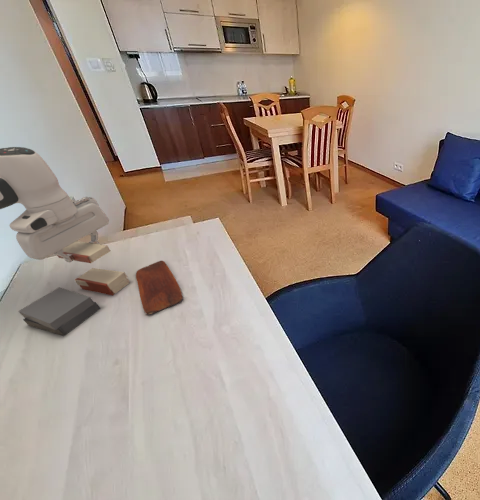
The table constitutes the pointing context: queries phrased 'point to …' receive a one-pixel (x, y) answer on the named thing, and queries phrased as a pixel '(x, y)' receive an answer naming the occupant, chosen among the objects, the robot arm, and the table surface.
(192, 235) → the table surface
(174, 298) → the wooden tablet
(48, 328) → the grey book pile
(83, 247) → the white book
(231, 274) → the table surface
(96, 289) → the white book pile
